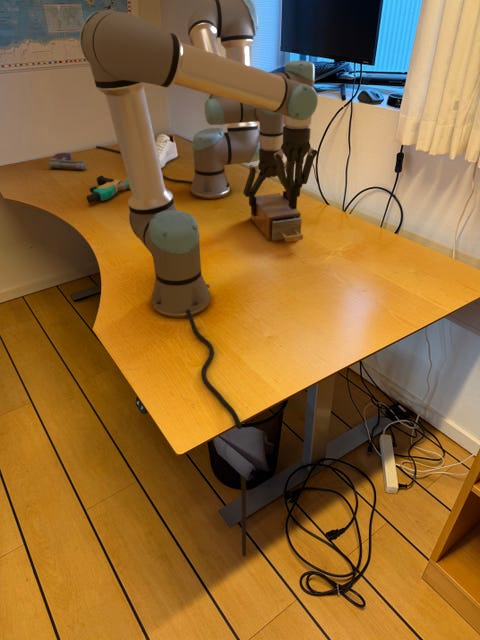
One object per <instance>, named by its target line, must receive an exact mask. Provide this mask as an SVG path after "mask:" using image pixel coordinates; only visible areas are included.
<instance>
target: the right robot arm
mask: <svg viewBox="0 0 480 640" xmlns="http://www.w3.org/2000/svg"><path fill="white" fill-rule="evenodd" d="M258 33H259V15H258V9H257V7H256V4H255V3H254V1H253V0H201V1H199V2H198V3H197V4H196V5H195V6H194V8H193V9H192V11H191V12H190V15H189V17H188V22H187V36H188V39H189V42H190V44H191V46H193V47H196V48H198V49H201V50H204V51H207V52H210V53H213V54H216V55H219V56H221V51H220V49H219V45H218V42H217V39H219V40H220V45H221V46H222V47H223V48H224V49H225V58H228V59H231V60H234V61H237V62H240V63H243V64H246V65H249V66H251V52H250V48H251V46H252V44H253V43H254V37H256V36H257V35H258ZM206 95H207V99H206V100H205V102H204V117H205V120H206V123H207V124H208V125H210V126H223V125H227V126H226V131H225V132H224V130H223V129H222V128H220V127H211V128H210V127H209V128H205V129H202V130H199V131H197V132H196V133H195V134H194V135H193V137H192V150H193V151H192V152H193V164H194V165H193V167H194V175H193V180H192V181H191V180H185V179H177V178H175V179H174V178H171V177H168V176H166V175H164V174H163V173H162V175H163V179H165V180H167V181H171V182H175V183H185V184H191V187H190V188H191V189H190V190H191V195H192V196H194V197H195V198H197V199H202V200H218V199H221V198H225V197H227V196H228V195H229V194H230V193H231V186H230V183H229V181H228V177H227V174H226V170H225V166H227V165H238V164H250V163H255V162H257V161H258V164H257V165H253V164H251V165H249V173H248V176H247V180H246V183H245V186H244V189H243V192H242V194H243V195H244V196H245V197H246V198H248V205H249V207H250V215H251V214H252V215H253V216H256V197H255V196H256V194H257V193H258V191H259V189H260V187H261V186H262V184H263V182H264V181H265V180H266V179H269V178H276V177H277V179H278V180H279V181H280V177H279V171H278V166H277V161H276V159H275V157H274V156H273V153H274V152H276V153H277V152H278V151H279V150H281V146H282V144H283V127H284V126H285V125H284V123H283V122H284V115H282V114H278V113H275V112H272V111H268V110H265V109H261V108H259V109H257V108H248V107H247V106H246V105H245V104H243V103H240V102H236V101H233V100H229V99H226V98H222V97H219V96H215V95H211V94H208V93H206ZM258 123H259V125H258ZM95 147H96V148H98V149H103V150H107V151H110V152H115V153H118V154H121V152H120V150H118V149H113V148H109V147H105V146H100V145H96V146H95ZM283 163H284V168H285V173H286V175H287V160H286V161H285V162H284V161H283ZM258 170H259V173H258ZM256 173H258V175H257V178H255V177H256ZM294 180H295V179H294ZM294 180H293V185H295V183H294ZM282 187H283V189H284V190H283V191H282V196H283V197H284V198H286V199H287V200H288V201H289V198H288V197H287V195H286V192H287V187H285V186H283V185H282Z"/></svg>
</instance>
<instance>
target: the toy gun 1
mask: <svg viewBox="0 0 480 640" xmlns="http://www.w3.org/2000/svg"><path fill="white" fill-rule="evenodd" d="M72 158H73V157H72V154H71V152H58V153H55V154H54V155H53V158H50V159H49V162H48V164H47V166H49V168H52V169H62V170H63V169H65V170H78V171H79V170H80V171H84V170H85V167H86V166H87V164H86V162H84V161H83V160H82V161H81V160H72Z"/></svg>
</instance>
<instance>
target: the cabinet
mask: <svg viewBox="0 0 480 640" xmlns="http://www.w3.org/2000/svg"><path fill="white" fill-rule="evenodd" d="M255 197H256V216H253V215H252V214H251V213H250V219H251V220H252V222H253V223H254V224H255V226H256V227H257V228H258V229H259V230H260V232H261V234H263V236H264V237H265V238H266V239H267V241H273V240H272V235H271V228H272V220H273V219H280V218H287V217H294V216H296V218H301V212H300V211H299V210H298V208H297V209H291V208H290V207H289V201H288V200H287V199H286V198H284V197H283V194H282V193H281V192H276V193H269V194H264V195H263V194H262V195H255Z"/></svg>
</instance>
